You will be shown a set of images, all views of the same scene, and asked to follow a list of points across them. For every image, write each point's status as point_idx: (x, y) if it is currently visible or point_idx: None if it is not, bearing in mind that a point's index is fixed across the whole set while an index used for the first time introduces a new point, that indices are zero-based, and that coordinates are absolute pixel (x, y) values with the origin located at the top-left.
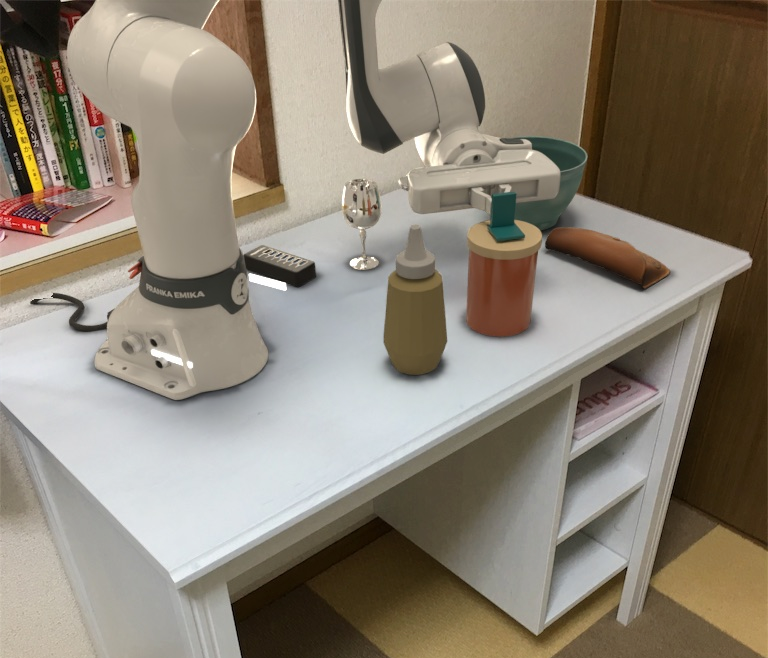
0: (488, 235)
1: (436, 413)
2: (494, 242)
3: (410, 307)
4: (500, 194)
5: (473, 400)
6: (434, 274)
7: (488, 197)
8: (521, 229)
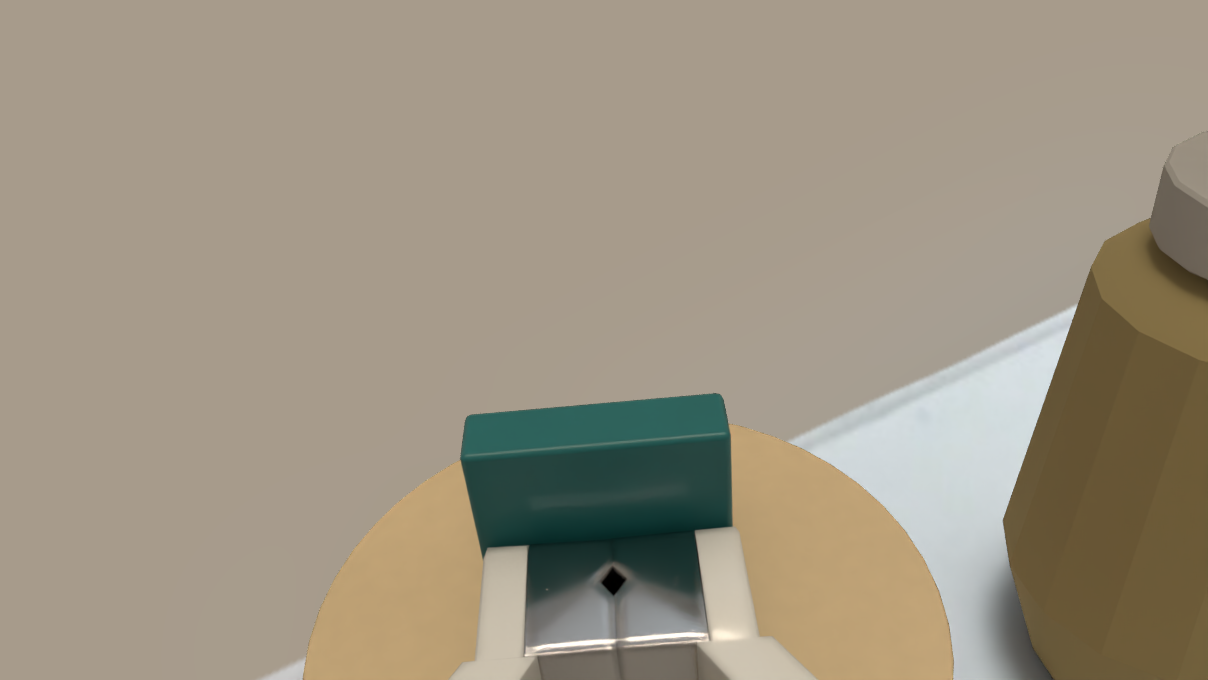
0: (763, 614)
1: (1008, 398)
2: (737, 512)
3: None
4: (639, 416)
5: (879, 435)
6: (1147, 250)
7: (738, 609)
8: (449, 666)
